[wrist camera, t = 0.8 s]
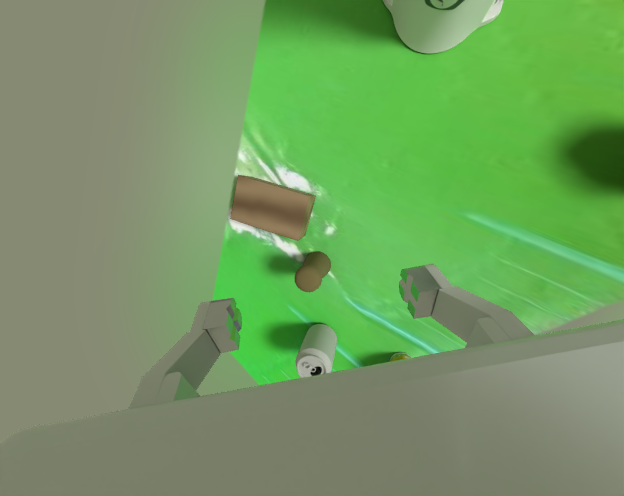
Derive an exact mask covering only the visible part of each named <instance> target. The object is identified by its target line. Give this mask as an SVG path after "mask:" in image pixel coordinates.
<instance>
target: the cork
mask: <svg viewBox="0 0 624 496" xmlns="http://www.w3.org/2000/svg"><path fill="white" fill-rule="evenodd" d="M330 268H331V262H330V259H329V258H328V256H327V255H326V254H324V253H322V252H312V253H310V254H309V255H308V256H307V257H306V259H305V262H304V264H303V266H302V267H300V268H299V269H298V270H297V272H296V274H295V283H296V285H297V286H298V288H299V289H301V290H302V291H305V292H312V291H315V290H316V289H318V288H319V286H320V285H321V282H322V278H323V277H324V276H325V275H326V274H327V273H328V272H329V271H330Z"/></svg>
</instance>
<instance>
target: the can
mask: <svg viewBox="0 0 624 496" xmlns="http://www.w3.org/2000/svg"><path fill="white" fill-rule="evenodd" d="M336 344H337V336H336V333H335V332H334V330H333V329H332V328H330V327H329V326H327V325H324V324H316V325H313V326H311V327H310V328H309V329H308V331H307V333H306V335H305V338H304V340H303V343H302V345H301V347H300V350H299V352H298V354H297V357H296V367H297V372H298V374H299V376H300V377H301V378H304V377H309V376H315V375H320V374H326V373H331V369H332V365H333V360H334V355H335V349H336Z"/></svg>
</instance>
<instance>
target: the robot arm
mask: <svg viewBox="0 0 624 496" xmlns="http://www.w3.org/2000/svg"><path fill="white" fill-rule="evenodd" d="M383 2H384V4H385V6H386V7H387V8H388V9H389V11H390V12H391V14H392V17H393V21H394V25H395V28H396V31H397V33H398V35H399V37H400V38H401V40H402V41H403V42H404V43H405V44H406V45H407V46H408V47H410V48H411V49H413V50H415V51H418V52H421V53H428V54H430V53H439V52H443V51H446V50H448V49H451V48H453V47H454V46H456V45H458V44H459V43H460V42H462V41H463V40H464V39H465V38H467V37H468V36H469V35H470V34H471V33H472V32H473V31H474V30H476V29H477V28H479V27H481V26H484V25H486V24H488V23H490V22H492V21H493V20H495V19H496V18H497V16H498V14H499V13H500V11H501V8H502V4H503V0H383ZM495 2H496V3H495ZM494 3H495V4H494ZM400 276H401V277H402V280H401V281H400V282H399V291H400V294H401V297H402V299H403V301H405V302H407V303H408V310H409V311H410V313H411V315H412V317H413V318H414V319H416V318H422V317H429V316H431V317H432V318H433V319H435V320H436V321H438V322H439V323H440V324H442V325H443V326H445V327H446V328H447V329H449V330H450V331H451V332H453V333H454V334H456V335H457V336H458V337H460V338H461V339H463V340H464V341H465V342H467V344H466V347H465V348H463V349H458V350H452V351H447V352H441V353H436V354H430V355H425V356H419V357H414V358H408V359H403V360H397V361H392V362H386V363H381V364H375V365H370V366H365V367H359V368H354V369H348V370H343V371H337V372H331V373H326V374H320V375H315V376H309V377H304V378H298V379H293V380H287V381H282V382H276V383H271V384H265V385H260V386H254V387H249V388H243V389H238V390H233V391H227V392H221V393H216V394H210V395H205V396H200V395H199V394H198V393H197V392H196V390H197V388H198V387H199V385H200V384H201V382H202V381H203V379H204V377H205V376H206V375H207V373H208V372H209V371H210V369H211V367H212V366H213V365H214V363H215V362H216V360H217V359H218V357H219V356H220V353H224V352H229V351H234V350H239V343H240V335H239V333H238V332H239V331H240V330H241V327H242V317H241V313H240V310H239V309H238V308H236V301H235V299H234V298H229V299H222V300H215V301H210V302H202V303H200V305H199V306H198V309H197V312H196V316H195V318H194V321H193V324H192V328H191V331H190V332H189V333H186V334H185V335H184V336H183V337H182V338H181V339H180V340H179V341H178V342H177V343H176V344H175V345H174V346H173V347H172V348H171V349H170V350H169V351H168V352H167V353H166V354H165V355H164V356H163V357H162V358H161V359H160V360H159V361H158V362H157V363H156V364H155V365H154V366H153V367H152V368H151V369H150V370H149V371H148V372H147V373H146V374H145V375H144V376H143V377H142V379H141V381H140V384H139V386H138V389H137V391H136V393H135V395H134V398H133V400H132V402H131V404H130V407H129V409H127V410H122V411H116V412H111V413H105V414H100V415H94V416H89V417H84V418H78V419H72V420H67V421H61V422H56V423H50V424H44V425H38V426H32V427H28V428H24V429H21V430H19V431H16V432H14V433H13V434H11V435H9V436H8V437H7V438H5V439H4V440H2V441H1V442H0V496H624V320H618V321H612V322H607V323H601V324H595V325H590V326H585V327H579V328H574V329H568V330H563V331H557V332H552V333H546V334H541V335H534V334H533V333H532V332H531V331H530V330H529V329H528V328H527V327H526V326H525V325H524V324H523V323H522V322H521V321H520V320H519V319H518V318H517V317H516V316H515V315H514V314H513V313H512V312H511V311H508V310H506V309H504V308H502V307H500V306H498V305H496V304H493V303H491V302H489V301H487V300H485V299H483V298H481V297H478V296H476V295H474V294H472V293H470V292H468V291H466V290H463V289H461V288H459V287H457V286H455V287H453V286H452V284H451V283H450V282H449V281H448V280H447V278H446V277H445V276H444V275H443V274H442V273H441V271H440V270H439V269H438V268H437V267H436V265H434V264H429V265H423V266H418V267H412V268H406V269H402V270H401V274H400Z"/></svg>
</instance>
